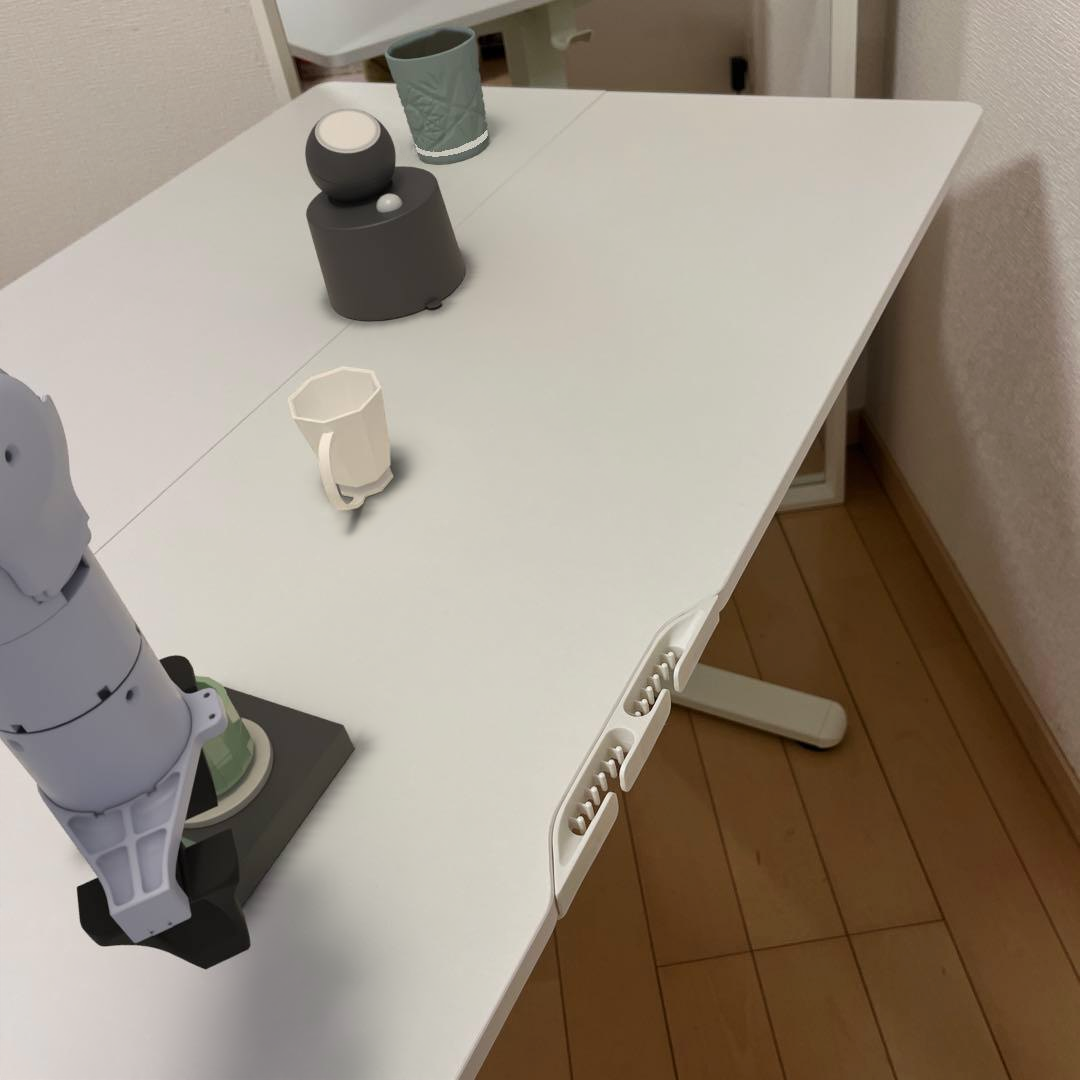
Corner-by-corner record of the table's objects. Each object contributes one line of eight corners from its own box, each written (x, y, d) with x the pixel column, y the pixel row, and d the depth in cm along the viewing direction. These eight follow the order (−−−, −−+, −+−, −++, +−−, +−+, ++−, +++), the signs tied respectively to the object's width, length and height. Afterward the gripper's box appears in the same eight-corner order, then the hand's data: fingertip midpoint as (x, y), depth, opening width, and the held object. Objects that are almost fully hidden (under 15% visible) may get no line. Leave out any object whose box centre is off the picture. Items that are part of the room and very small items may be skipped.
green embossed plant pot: (407, 172, 126) (377, 65, 118) (417, 136, 133) (391, 34, 125) (493, 158, 124) (470, 49, 116) (499, 123, 132) (478, 18, 124)
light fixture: (321, 170, 88) (249, 133, 98) (376, 340, 99) (306, 291, 108) (457, 109, 93) (376, 78, 103) (497, 277, 103) (419, 235, 113)
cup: (417, 446, 86) (389, 359, 80) (396, 533, 78) (364, 443, 73) (331, 456, 87) (297, 370, 82) (302, 542, 80) (264, 454, 74)
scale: (239, 910, 58) (220, 881, 56) (93, 845, 63) (70, 817, 61) (355, 748, 64) (340, 718, 63) (214, 701, 69) (197, 672, 68)
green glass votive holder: (201, 825, 59) (167, 775, 56) (139, 782, 62) (104, 732, 59) (276, 750, 62) (248, 699, 59) (214, 712, 65) (184, 662, 62)
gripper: (206, 769, 34) (340, 979, 42) (147, 510, 44) (264, 721, 53) (-25, 871, 32) (163, 1065, 41) (-29, 579, 43) (121, 784, 52)
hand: (209, 876), depth 47 cm, fingers open, 7 cm apart
